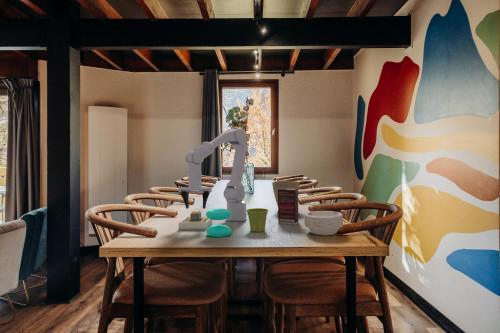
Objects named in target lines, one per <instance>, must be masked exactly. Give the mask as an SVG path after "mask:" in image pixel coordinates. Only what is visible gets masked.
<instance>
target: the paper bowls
mask: <svg viewBox="0 0 500 333" xmlns="http://www.w3.org/2000/svg"><path fill="white" fill-rule="evenodd" d="M343 219H344V216H343V213H342V212H338V211H333V210H316V211H309V212H306V213H304V226H305V227H307V228H308V229H309V231H310V233H312V234H314V235H318V236H333V235H335V234H337V233H338V231H339V229H340V228H343V226H344V220H343Z"/></svg>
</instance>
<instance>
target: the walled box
mask: <svg viewBox="0 0 500 333" xmlns="http://www.w3.org/2000/svg"><path fill="white" fill-rule="evenodd" d="M212 225H213V220H211V219H209V218H207V216H205V217H204V216H201V221H190V216H189V217H187V216H186V217H185V218H183V219H182V220H181V221H178V230H181V231H182V230H183V231H185V230H186V231H187V230H188V231H189V230H190V231H191V230H192V231H196V230H198V231H206V230H207V228H208V227H210V226H212Z"/></svg>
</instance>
